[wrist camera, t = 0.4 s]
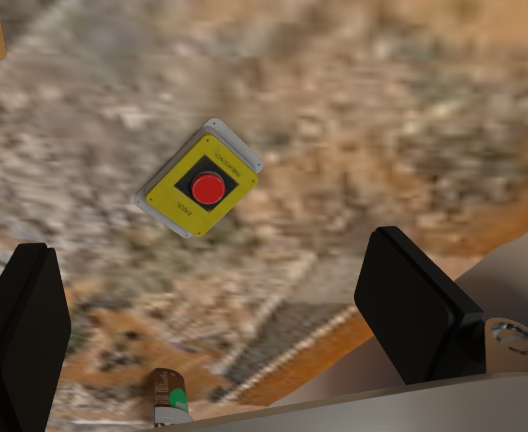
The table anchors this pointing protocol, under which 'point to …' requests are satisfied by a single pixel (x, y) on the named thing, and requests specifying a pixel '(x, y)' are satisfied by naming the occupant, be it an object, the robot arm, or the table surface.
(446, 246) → the table surface
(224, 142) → the emergency button
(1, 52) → the tan wooden cube
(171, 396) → the food container
